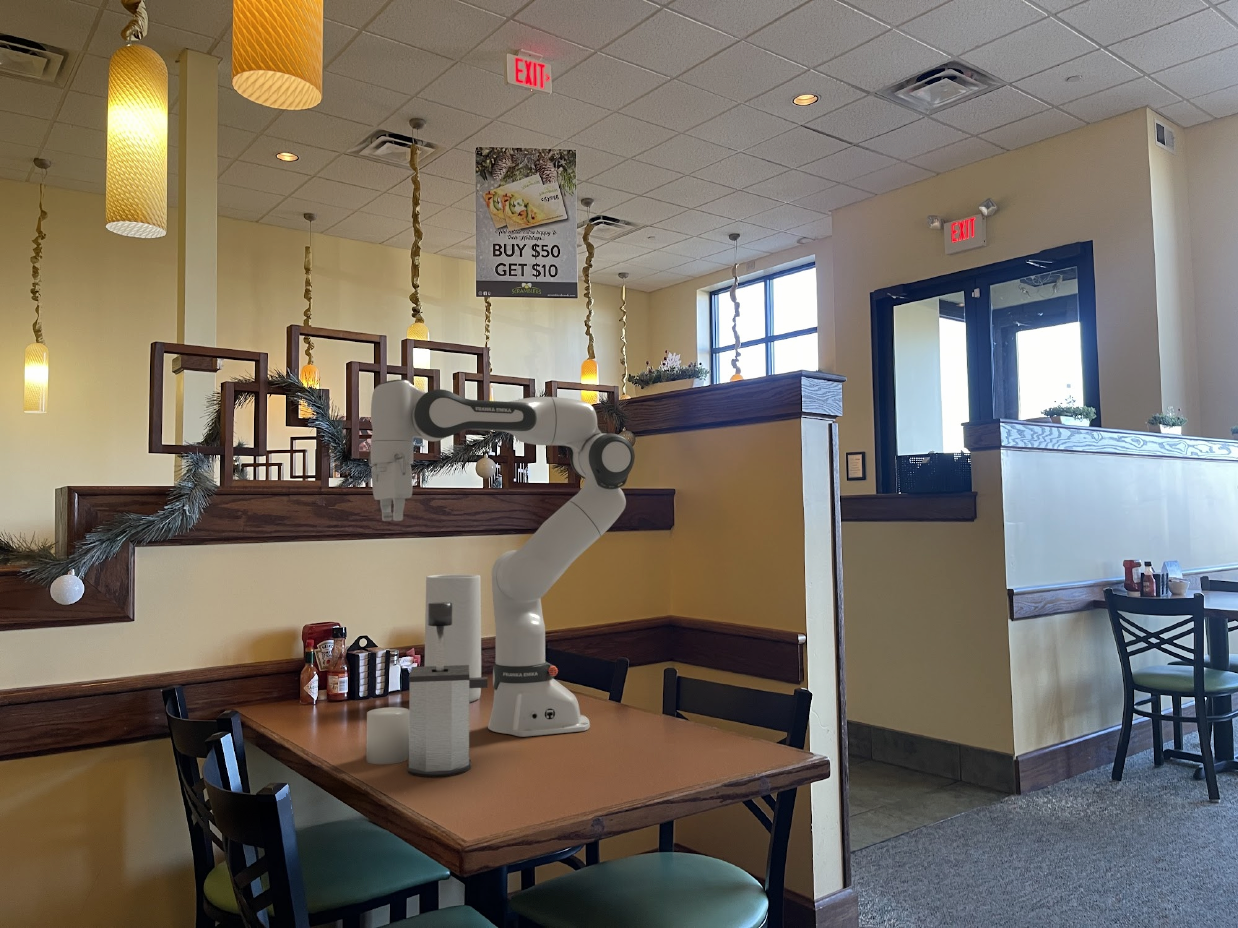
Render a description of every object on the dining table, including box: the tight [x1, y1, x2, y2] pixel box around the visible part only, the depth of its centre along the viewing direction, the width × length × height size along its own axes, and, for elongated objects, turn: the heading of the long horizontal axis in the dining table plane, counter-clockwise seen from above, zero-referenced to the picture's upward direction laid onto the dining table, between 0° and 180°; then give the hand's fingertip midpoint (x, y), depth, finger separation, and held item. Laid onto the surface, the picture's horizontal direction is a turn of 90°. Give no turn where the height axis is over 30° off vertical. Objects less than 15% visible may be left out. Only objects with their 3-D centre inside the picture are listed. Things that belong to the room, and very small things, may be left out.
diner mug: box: [365, 706, 409, 765], centre depth 177 cm, size 8×11×9 cm
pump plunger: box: [428, 602, 452, 672], centre depth 169 cm, size 4×4×21 cm
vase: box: [424, 573, 482, 703], centre depth 232 cm, size 14×14×32 cm
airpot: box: [406, 665, 489, 778], centre depth 168 cm, size 15×12×18 cm
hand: (392, 520), depth 191 cm, fingers open, 8 cm apart
